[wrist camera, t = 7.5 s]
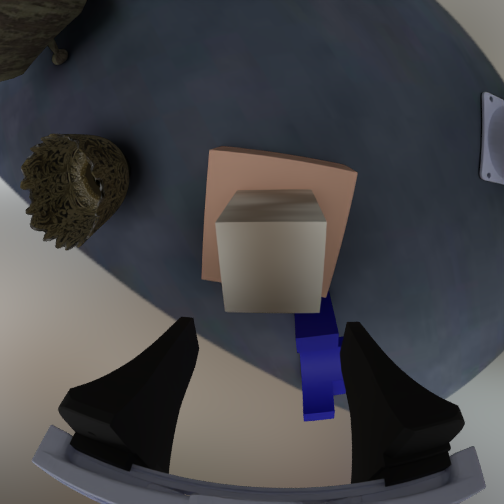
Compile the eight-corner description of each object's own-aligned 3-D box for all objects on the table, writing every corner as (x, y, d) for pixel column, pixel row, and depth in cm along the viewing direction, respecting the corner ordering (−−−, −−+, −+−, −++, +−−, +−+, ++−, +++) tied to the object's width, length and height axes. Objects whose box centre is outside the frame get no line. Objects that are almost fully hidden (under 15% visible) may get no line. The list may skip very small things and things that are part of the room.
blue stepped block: (341, 373, 28) (348, 416, 23) (302, 377, 29) (303, 421, 23) (344, 284, 23) (359, 330, 18) (293, 291, 24) (295, 338, 18)
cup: (81, 131, 19) (14, 143, 12) (154, 121, 18) (91, 125, 11) (87, 210, 22) (29, 246, 15) (156, 213, 22) (104, 256, 14)
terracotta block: (343, 164, 19) (357, 172, 15) (319, 270, 23) (326, 297, 19) (222, 145, 19) (209, 149, 16) (213, 254, 23) (201, 279, 20)
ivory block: (311, 189, 16) (326, 221, 11) (309, 256, 18) (319, 313, 13) (237, 190, 17) (215, 222, 11) (241, 256, 19) (225, 311, 13)
